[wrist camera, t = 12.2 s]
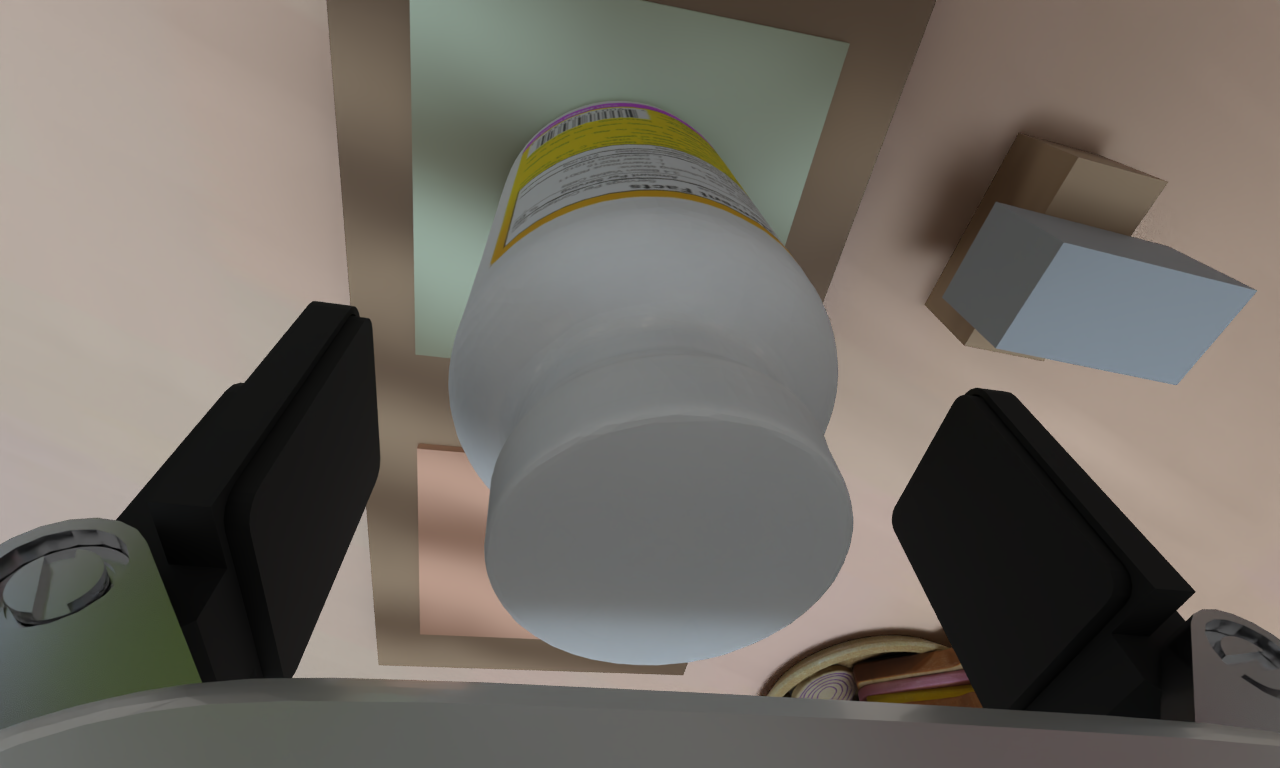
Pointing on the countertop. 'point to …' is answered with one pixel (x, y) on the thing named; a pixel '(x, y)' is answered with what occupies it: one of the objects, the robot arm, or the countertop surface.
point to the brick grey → (1091, 296)
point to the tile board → (470, 193)
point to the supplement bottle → (646, 399)
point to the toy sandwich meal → (881, 674)
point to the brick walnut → (1050, 207)
